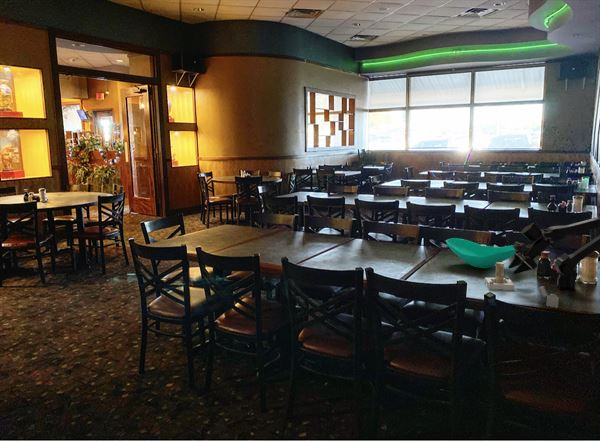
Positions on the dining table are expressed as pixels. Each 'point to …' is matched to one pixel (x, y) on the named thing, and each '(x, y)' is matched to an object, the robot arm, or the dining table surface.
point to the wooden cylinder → (499, 272)
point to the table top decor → (479, 252)
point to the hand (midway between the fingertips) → (511, 270)
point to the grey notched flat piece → (550, 298)
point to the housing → (500, 284)
